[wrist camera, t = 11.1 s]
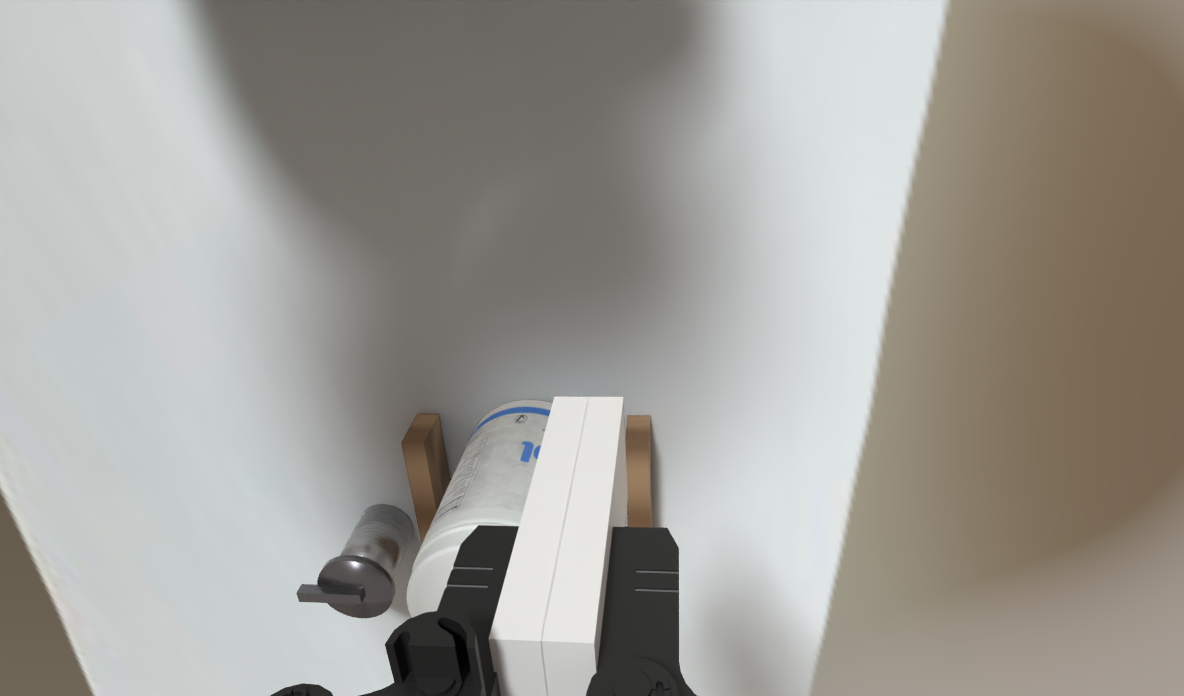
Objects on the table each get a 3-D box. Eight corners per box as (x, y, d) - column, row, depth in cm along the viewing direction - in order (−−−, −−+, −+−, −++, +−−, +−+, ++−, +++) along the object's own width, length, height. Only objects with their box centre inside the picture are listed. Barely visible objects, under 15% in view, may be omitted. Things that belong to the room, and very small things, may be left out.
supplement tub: (631, 433, 52) (615, 596, 39) (567, 525, 56) (535, 700, 43) (503, 369, 51) (443, 516, 38) (448, 468, 55) (377, 630, 42)
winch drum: (333, 497, 57) (288, 568, 51) (415, 498, 57) (380, 571, 50) (347, 550, 60) (306, 625, 53) (425, 552, 59) (394, 628, 52)
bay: (417, 413, 53) (398, 447, 49) (650, 415, 51) (647, 450, 48) (442, 547, 59) (427, 585, 55) (653, 553, 57) (651, 593, 53)
